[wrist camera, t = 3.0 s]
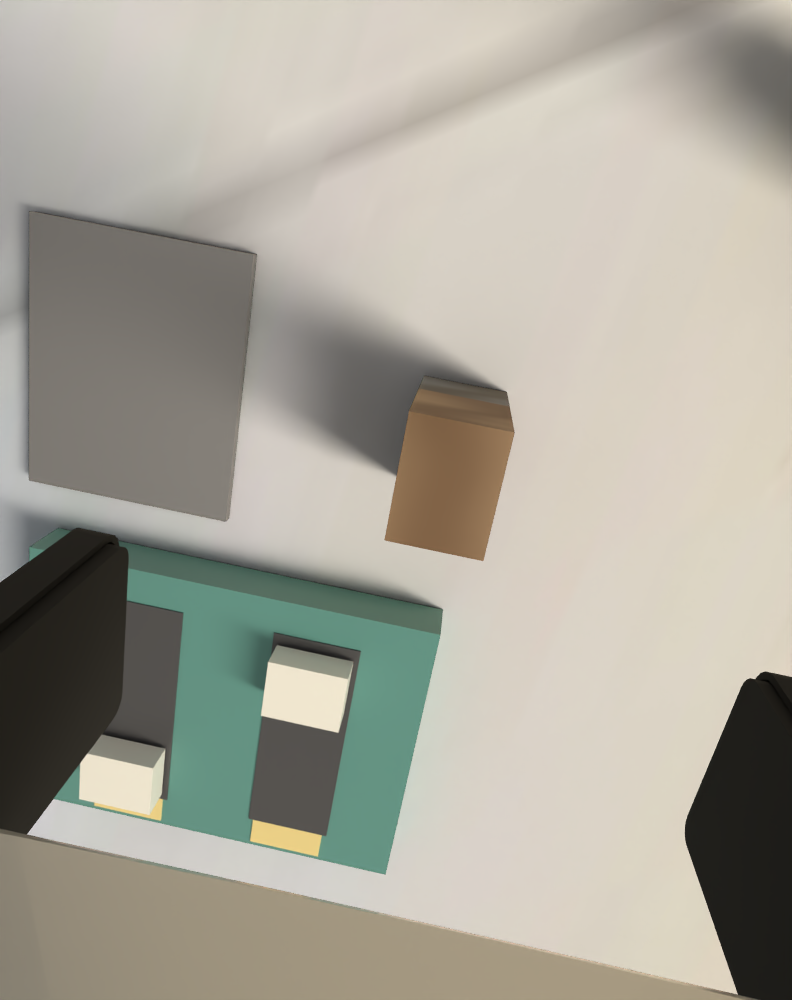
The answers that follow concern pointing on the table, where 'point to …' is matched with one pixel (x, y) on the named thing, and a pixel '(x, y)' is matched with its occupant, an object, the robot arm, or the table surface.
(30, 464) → the mat
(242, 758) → the switch panel
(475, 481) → the brown cardboard box
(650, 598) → the table surface
